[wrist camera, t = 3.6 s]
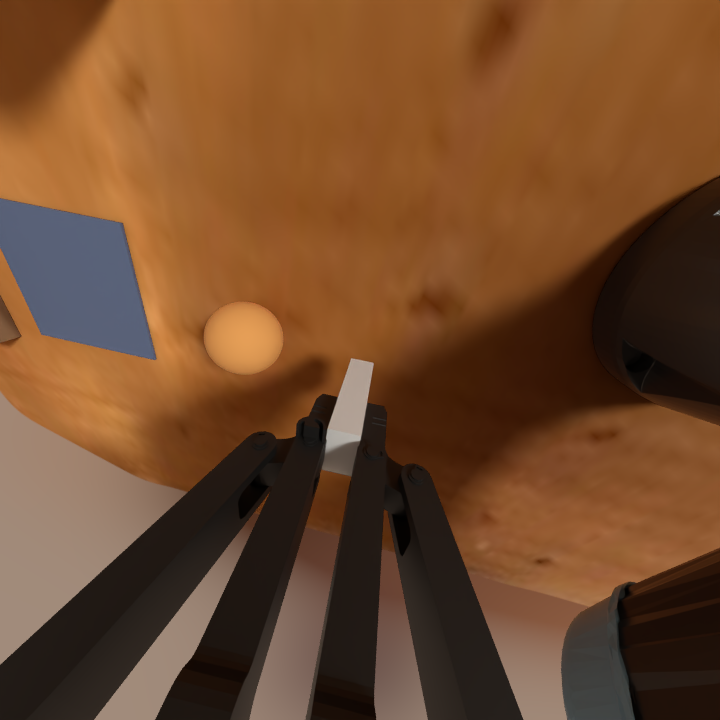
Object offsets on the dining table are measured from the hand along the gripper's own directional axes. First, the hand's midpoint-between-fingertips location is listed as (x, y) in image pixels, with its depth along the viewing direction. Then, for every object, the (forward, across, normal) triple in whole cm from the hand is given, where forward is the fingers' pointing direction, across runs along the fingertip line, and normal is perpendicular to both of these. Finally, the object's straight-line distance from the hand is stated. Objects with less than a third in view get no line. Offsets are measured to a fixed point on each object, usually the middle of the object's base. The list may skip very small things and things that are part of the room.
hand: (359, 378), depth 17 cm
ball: (+2, +9, 0) cm, 9 cm away
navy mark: (+5, +26, 0) cm, 27 cm away
